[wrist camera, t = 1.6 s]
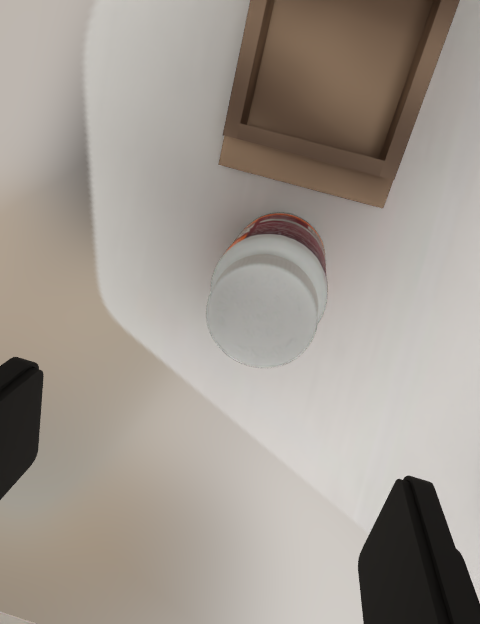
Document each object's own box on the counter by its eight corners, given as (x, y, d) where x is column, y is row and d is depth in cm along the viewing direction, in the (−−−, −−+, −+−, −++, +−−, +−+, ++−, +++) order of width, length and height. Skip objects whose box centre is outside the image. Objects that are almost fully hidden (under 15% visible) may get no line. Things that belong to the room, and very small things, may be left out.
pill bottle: (243, 203, 29) (201, 238, 19) (335, 220, 29) (344, 266, 18) (230, 289, 32) (186, 362, 21) (314, 307, 31) (312, 390, 21)
